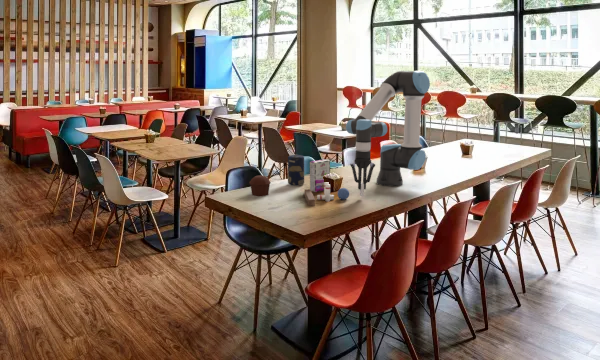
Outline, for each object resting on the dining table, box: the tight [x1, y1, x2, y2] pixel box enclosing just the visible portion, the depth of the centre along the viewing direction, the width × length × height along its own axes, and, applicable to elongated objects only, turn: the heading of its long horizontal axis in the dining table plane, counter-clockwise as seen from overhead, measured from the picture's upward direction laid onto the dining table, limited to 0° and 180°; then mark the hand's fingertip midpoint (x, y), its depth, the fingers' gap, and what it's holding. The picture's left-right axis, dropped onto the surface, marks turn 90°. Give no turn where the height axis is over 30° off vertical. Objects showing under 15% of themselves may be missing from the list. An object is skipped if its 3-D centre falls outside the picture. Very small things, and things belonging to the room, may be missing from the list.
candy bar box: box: [309, 159, 331, 193], centre depth 289 cm, size 11×5×16 cm, turn 129°
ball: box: [337, 187, 350, 201], centre depth 269 cm, size 6×6×6 cm
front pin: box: [316, 194, 335, 201], centre depth 269 cm, size 2×2×8 cm
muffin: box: [249, 174, 272, 197], centre depth 279 cm, size 12×11×10 cm
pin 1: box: [323, 182, 329, 195], centre depth 271 cm, size 2×2×8 cm
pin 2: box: [325, 183, 331, 202], centre depth 266 cm, size 2×2×8 cm
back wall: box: [304, 188, 316, 207], centre depth 268 cm, size 3×22×3 cm, turn 5°
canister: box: [287, 153, 305, 187], centre depth 301 cm, size 10×10×18 cm
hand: (361, 195), depth 270 cm, fingers closed
